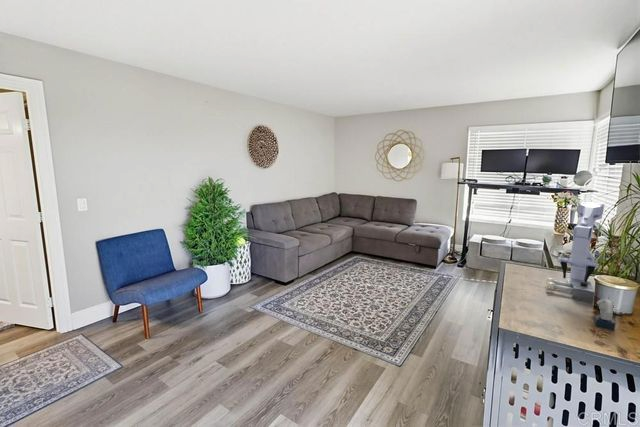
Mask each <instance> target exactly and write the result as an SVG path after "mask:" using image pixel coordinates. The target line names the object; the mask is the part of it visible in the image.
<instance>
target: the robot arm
mask: <svg viewBox="0 0 640 427" xmlns="http://www.w3.org/2000/svg"><path fill="white" fill-rule="evenodd" d="M604 209H605V203H603V202H602V203H599V202H589V201H588V202H587V201H579V202H578V204H577V209H576V210H577V216H578V218H579V219H578V220H577V222H576V226H574V227H573V229H572V231H573V232H572V245H571V251H570V255H569V258H568V257H560V256H559V257H557V263H560V265H561V266H560V267H561V269H562V273H563V274H562V275H563V276H562V278H563V279H566V278H567V269H568V266H569V267H570V268H571V269H570V274H569V278H567V279H566V280H567V283H570V282H571V278H573V279H578V280H584V282H587V281H588V280H589V278H590V276H591V275H592V274H593V273H594V272H595V271H596V269H599V265H600V264H599V263H598V262H595V261H596V260H595V259H596V258H595V257H596V256H595V254H593V253H592V251H590V248H591V246H590V245H591V242H592V237H593V231H594V225H595V222H596V221H598V220H602V219H603V216H604V215H603V214H604Z"/></svg>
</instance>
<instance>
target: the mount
mask: <svg viewBox="0 0 640 427" xmlns="http://www.w3.org/2000/svg"><path fill="white" fill-rule="evenodd" d="M570 283H572V285H571V287H570V288H573V292H569V293H570V295H571V299H572V300H576V301H580V302H586V303H590V304H594V299H595V293H596V291H595V289H594V287H593V285H592V283H591V281H590V280H589V281H588V280H587V282H584V280H578V279H573V278H571V282H570Z"/></svg>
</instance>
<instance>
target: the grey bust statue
mask: <svg viewBox="0 0 640 427" xmlns="http://www.w3.org/2000/svg"><path fill="white" fill-rule="evenodd" d="M608 299H609V298H603V299H598V301H596V304H597V305H598V309H599V310H600V312H599V313H600V315H597V314H594V318H593V324H594V327H595V328H600V329H603V330H609V331H613V332H615V328H616V321H615V319H614V318H613V308H614V302H613V301H611V300H608Z"/></svg>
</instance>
